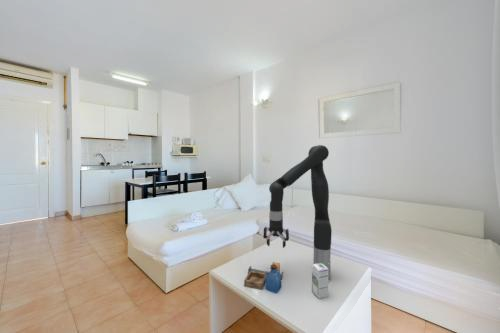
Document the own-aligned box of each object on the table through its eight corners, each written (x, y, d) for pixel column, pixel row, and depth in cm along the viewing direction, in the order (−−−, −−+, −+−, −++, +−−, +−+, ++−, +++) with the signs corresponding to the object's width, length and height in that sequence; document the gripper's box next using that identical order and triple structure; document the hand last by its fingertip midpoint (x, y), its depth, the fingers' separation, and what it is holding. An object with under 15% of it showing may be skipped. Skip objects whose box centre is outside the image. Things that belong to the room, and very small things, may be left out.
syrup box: (328, 296, 102) (329, 267, 102) (318, 299, 101) (318, 269, 100) (321, 289, 108) (321, 262, 107) (311, 291, 106) (311, 263, 105)
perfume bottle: (276, 293, 104) (276, 270, 104) (265, 289, 108) (265, 266, 107) (281, 287, 110) (281, 264, 109) (270, 283, 113) (271, 261, 112)
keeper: (267, 279, 117) (267, 273, 117) (262, 289, 107) (262, 284, 107) (250, 276, 120) (250, 270, 120) (244, 286, 110) (244, 280, 110)
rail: (283, 276, 120) (283, 271, 120) (281, 280, 116) (282, 275, 116) (250, 270, 126) (250, 266, 126) (248, 273, 122) (248, 269, 122)
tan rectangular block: (279, 273, 120) (279, 263, 120) (278, 277, 117) (278, 266, 116) (266, 270, 123) (266, 261, 123) (265, 274, 119) (265, 264, 119)
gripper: (289, 217, 119) (289, 245, 120) (265, 215, 124) (265, 242, 124) (287, 221, 112) (287, 250, 113) (262, 219, 116) (262, 247, 117)
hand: (276, 246), depth 118 cm, fingers open, 8 cm apart
